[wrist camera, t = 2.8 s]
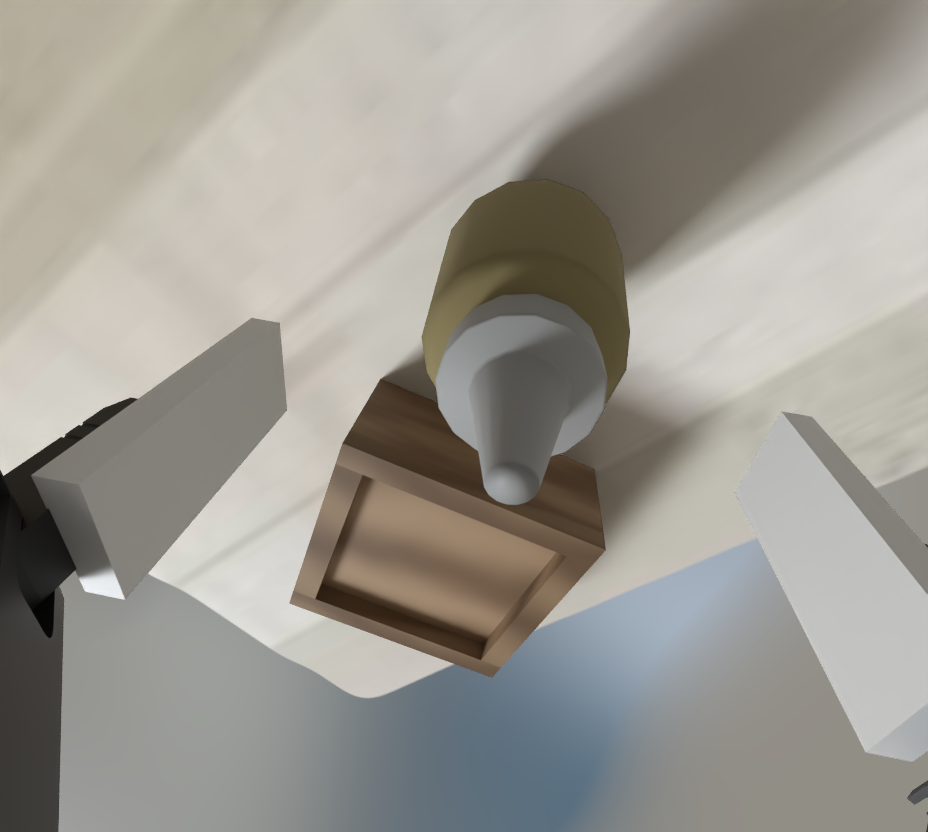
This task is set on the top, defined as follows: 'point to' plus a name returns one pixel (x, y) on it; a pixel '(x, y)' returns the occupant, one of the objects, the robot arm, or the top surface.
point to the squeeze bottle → (527, 329)
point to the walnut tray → (442, 539)
